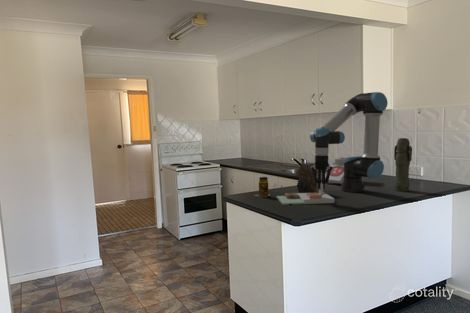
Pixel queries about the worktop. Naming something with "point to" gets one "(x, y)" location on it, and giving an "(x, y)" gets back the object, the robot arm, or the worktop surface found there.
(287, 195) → the walnut coaster
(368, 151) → the robot arm
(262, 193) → the condiment
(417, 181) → the worktop surface
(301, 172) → the knife block
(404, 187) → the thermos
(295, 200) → the mat
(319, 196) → the terracotta tile
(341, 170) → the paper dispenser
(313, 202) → the pale grey square slab
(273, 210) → the worktop surface
